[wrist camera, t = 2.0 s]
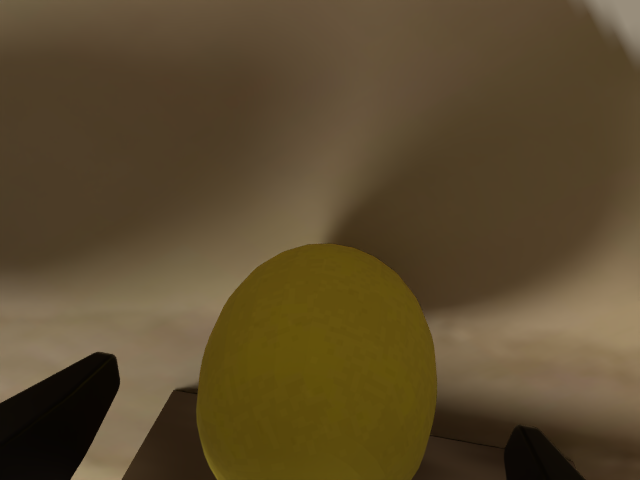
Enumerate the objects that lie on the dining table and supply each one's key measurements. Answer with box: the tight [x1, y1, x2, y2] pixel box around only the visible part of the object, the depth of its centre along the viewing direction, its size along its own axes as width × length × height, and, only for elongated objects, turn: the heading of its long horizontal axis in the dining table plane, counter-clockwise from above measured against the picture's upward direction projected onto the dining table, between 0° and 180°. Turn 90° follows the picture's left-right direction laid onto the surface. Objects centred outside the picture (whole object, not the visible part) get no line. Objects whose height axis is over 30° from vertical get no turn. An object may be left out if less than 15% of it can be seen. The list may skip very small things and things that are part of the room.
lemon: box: [196, 243, 437, 480], centre depth 10 cm, size 6×6×8 cm
